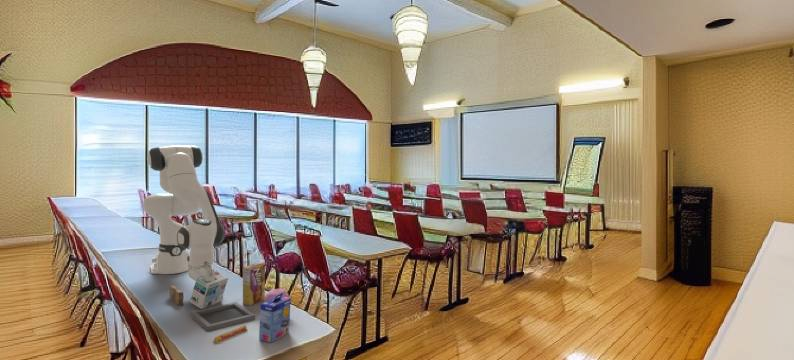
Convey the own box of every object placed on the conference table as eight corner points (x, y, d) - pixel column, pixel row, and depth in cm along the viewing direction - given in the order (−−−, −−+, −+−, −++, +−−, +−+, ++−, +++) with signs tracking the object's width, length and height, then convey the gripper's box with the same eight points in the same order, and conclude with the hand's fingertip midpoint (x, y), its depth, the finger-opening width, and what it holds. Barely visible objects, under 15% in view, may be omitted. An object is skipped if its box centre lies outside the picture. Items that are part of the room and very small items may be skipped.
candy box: (256, 297, 173) (257, 261, 173) (265, 299, 172) (266, 263, 171) (241, 304, 165) (242, 266, 164) (250, 305, 164) (251, 268, 163)
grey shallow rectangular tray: (190, 316, 151) (190, 312, 151) (236, 305, 163) (236, 302, 163) (207, 331, 139) (207, 326, 139) (255, 318, 151) (255, 314, 151)
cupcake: (292, 312, 158) (293, 287, 157) (280, 321, 150) (281, 294, 149) (272, 309, 160) (272, 284, 160) (259, 317, 152) (259, 291, 151)
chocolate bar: (212, 342, 131) (212, 336, 131) (243, 330, 142) (243, 323, 142) (217, 345, 130) (217, 338, 130) (248, 331, 141) (248, 325, 140)
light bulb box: (201, 310, 157) (209, 285, 156) (188, 302, 159) (196, 277, 158) (221, 301, 167) (229, 277, 166) (209, 293, 169) (216, 270, 168)
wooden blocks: (169, 297, 169) (169, 285, 169) (212, 289, 181) (212, 278, 181) (178, 305, 161) (179, 293, 160) (222, 296, 173) (223, 285, 172)
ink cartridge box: (272, 343, 132) (273, 299, 131) (258, 340, 134) (259, 296, 133) (290, 332, 141) (291, 290, 140) (277, 329, 143) (278, 288, 142)
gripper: (219, 263, 160) (219, 298, 161) (201, 253, 175) (200, 285, 176) (202, 266, 156) (202, 301, 157) (185, 255, 171) (184, 288, 171)
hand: (201, 293), depth 166 cm, fingers closed
